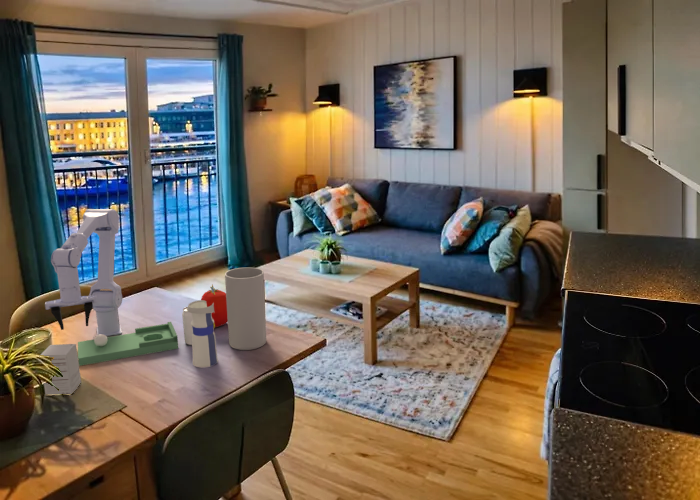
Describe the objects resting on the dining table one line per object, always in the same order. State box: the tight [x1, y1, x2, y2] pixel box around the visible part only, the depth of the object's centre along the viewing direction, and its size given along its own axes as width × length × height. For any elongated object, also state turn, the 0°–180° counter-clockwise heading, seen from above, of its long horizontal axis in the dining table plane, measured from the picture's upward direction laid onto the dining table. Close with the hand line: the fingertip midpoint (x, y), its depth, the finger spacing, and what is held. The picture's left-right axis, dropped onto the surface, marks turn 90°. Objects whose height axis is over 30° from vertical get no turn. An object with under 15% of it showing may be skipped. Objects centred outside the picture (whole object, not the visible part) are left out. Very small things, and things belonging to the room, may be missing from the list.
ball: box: [94, 334, 108, 347], centre depth 183 cm, size 4×4×4 cm
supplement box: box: [40, 343, 82, 395], centre depth 159 cm, size 7×7×13 cm
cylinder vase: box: [224, 267, 267, 351], centre depth 188 cm, size 12×12×25 cm
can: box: [182, 306, 193, 346], centre depth 191 cm, size 6×6×12 cm
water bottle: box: [186, 283, 219, 369], centre depth 175 cm, size 8×9×25 cm
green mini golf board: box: [77, 321, 179, 367], centre depth 187 cm, size 14×30×4 cm, turn 115°
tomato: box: [200, 288, 228, 328], centre depth 205 cm, size 13×11×14 cm
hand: (74, 326), depth 179 cm, fingers open, 6 cm apart
